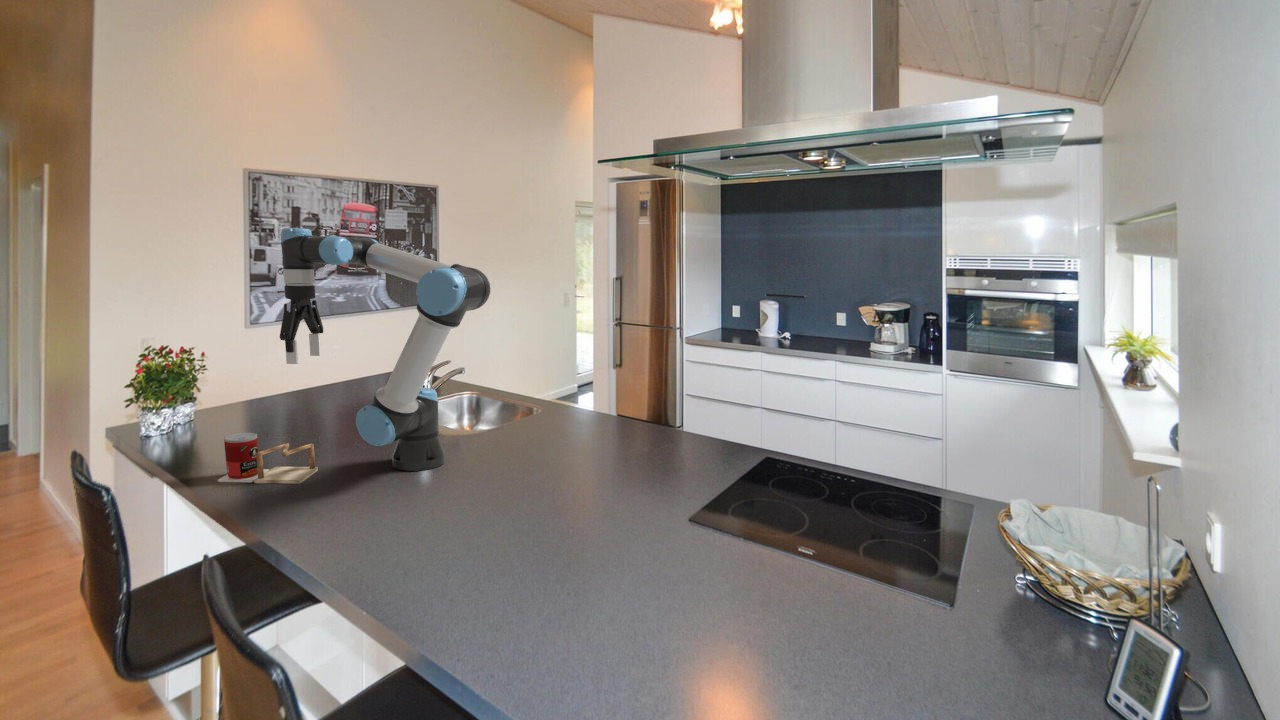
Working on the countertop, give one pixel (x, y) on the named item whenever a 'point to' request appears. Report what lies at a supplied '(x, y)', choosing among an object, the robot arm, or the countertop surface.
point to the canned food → (241, 455)
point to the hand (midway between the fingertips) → (304, 359)
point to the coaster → (227, 479)
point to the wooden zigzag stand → (285, 473)
